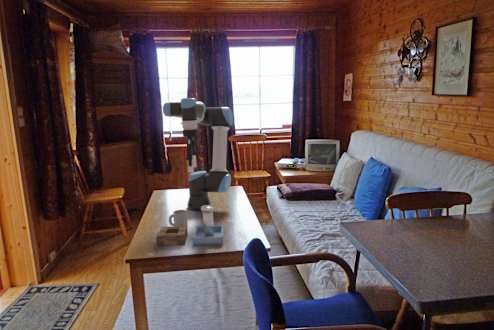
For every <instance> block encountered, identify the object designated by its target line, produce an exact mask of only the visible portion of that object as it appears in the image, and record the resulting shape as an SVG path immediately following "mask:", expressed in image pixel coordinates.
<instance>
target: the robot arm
mask: <svg viewBox="0 0 494 330" xmlns="http://www.w3.org/2000/svg"><path fill="white" fill-rule="evenodd" d="M196 100H197V99H196V98H194V97H188V98H187V97H186V98H181V99H180V101H179V102H174V101H172V102H165V103H164V104H163V106H162V112H163V115H164V116H165V117H175V118H180V119H181V123H180V124H181V125H182V136H183V138H187V139H186V158H185V160H186V161H187V173H189V175H188V180H187V181H188V189H189V190H188V193H189V198H188V202H187V206H186V207H187V209H188V210H190V211H196V212H197V211H201V207H202V206H204V205H212V202H211V200H210V199H211V198H209V193H220V194H224V193H227V192H228V191H229V190H230V187H231V183H232V176H231V174H229V171H228V170H227V152H228V151H227V150H228V149H227V148H228V131H229V130H230V129H231V126H233V125H234V116H233V112H232V109H231V108H230V107H228V106H214V107H213V106H212V107H211V106H210V107H209V106H208V107H206V105H205V103H203V102H202V101H198V100H197V101H196ZM198 124H199V125H203V126H211V129H212V131H213V143H212V145H213V146H212V164H211V165H212V166H211V169H210V170H209V173H208V172H207V171H206V170H199V171H195V170H194V169H195V168H197V155H198V153H197V148H196V137H198V136H199V133H198V132H199V129H197V128H198ZM194 171H195V172H194Z"/></svg>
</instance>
